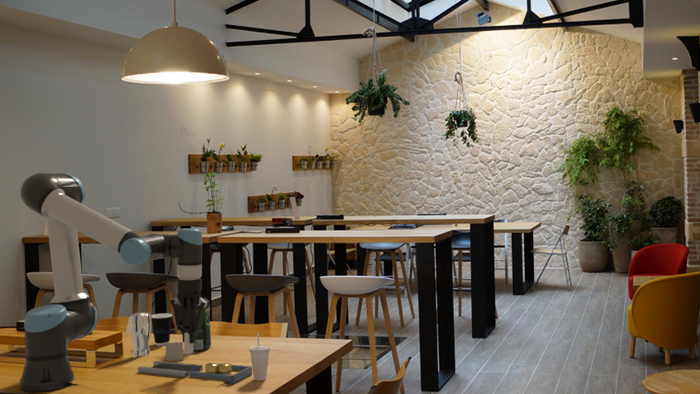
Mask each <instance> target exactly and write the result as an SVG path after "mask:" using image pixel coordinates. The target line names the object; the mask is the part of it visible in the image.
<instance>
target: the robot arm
mask: <svg viewBox="0 0 700 394" xmlns="http://www.w3.org/2000/svg"><path fill="white" fill-rule="evenodd" d="M82 183H83V182H81V180H80V179H78V177H76V176H74V175H72V174H68V173H64V172H62V173H60V172H58V173H50V172H49V173H47V172H46V173H45V172H38V173H35V174H32V175H30V176H28V177H27V178H26V179H25V180H24V181H23V182H22V185H21V187H20V197H21V201H22V202H23V203H24V205H25V206H26V207H27V208H29V209H30V210H32V212H34V213H36V214H39V215H40V216H41V218H42V219H43V220H45V221H46V223H47V231H48V241H49V250H50V251H49V252H50V261H51V269H52V279H53V286H54V287H53V288H54V296H53V297H52V299H51V300H50V304H47V305H43V306H41V305H40V306H37V307H34V308H32V309H30V310H28V311H27V312H26V313H25V317H24V324H23V329H24V349H25V351H24V352H25V353H24V354H25V358H24V359H25V363H24V367H23V371H22V375H21V377H20V380H19V390H21V391H23V392H28V393H29V392H30V393H38V392H39V393H40V392H41V393H43V392H49V391H50V392H51V391H55V390H60V389H64V388H67V387H69V386H72V385H73V382H74V380H75V372H74V371H73V370H72V366H71V363H70V359H69V358H68V344H69V343H72V342H74V341H77V340H81V339H84V338H86V336H88V335H89V334H91V333H92V332H93V331H94V330H95V328H96V326H97V325H98V321H99V313H98V310H97V307H96V306H94V305H93V303H92V302H90V295H89V294H88V293H86V292H85V291H84V284H83V283H84V282H83V275H82V264H81V263H82V262H81V253H80V246H79V245H80V244H79V237H78V236H79V235H78V232H79V233H81V234H83V235H84V236H87V237H89V238H90V239H92V240H94V241H95V242H98V243H100V244H101V245H103V246H105V247H107V248H108V249H111V250H113V251H114V252H116V253H118V254H120V256H121V258H122V259H123V261H124V262H126V263H127V264H131V265H140V264H143V263H147V262H150V261H151V262H152V261H154V260H159V259H176V261H177V262H176V263H177V265H176V277H177V278H178V279H176V280H177V281H176V290H177V294H176V296H175V297H174V298H172V299H170V300H169V301H170V304H171V306H172V309H173V314H174V319H175V325H176V329H177V330H178V331H180V332H182V341H181V342H183V345H184V347H183V351H184V354H183V355H190V354H193V353H194V351H193V343H195V333H196V332H197V331H200V330H201V328H202V323H203V319H204V314H205V310H206V307H207V306H208V304H209V303H210V301H209V302H208V301H204V300H203V299H202V298H203V296H202V289H203V288H202V287H203V279H202V278H201V277H202V275H203V271H202V270H203V262H202V261H203V260H202V259H203V233H202V232H203V231H202V230H201V229H200V228H194V227H193V228H191V227H190V228H186V227H185V228H179V229H178V230H177V233H176V234H164V233H163V234H160V233H159V234H158V233H146V234H145V233H144V234H143V235H140V234H139V233H136V232H135V231H133V230H131V229H129V228H128V227H126V226H124V225H122V224H120V223H118V222H116V221H114V220H112V219H111V218H109V217H107V216H106V215H104V214H102V213H99V212H98V211H97V210H94V209H92V208H91V207H88V206H86V205H85V204H84V203H83V202H84V200H85V195H86V191H85V188H84V185H83V184H82ZM198 304H199V308H198ZM197 308H198V311H197Z"/></svg>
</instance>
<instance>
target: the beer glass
mask: <svg viewBox="0 0 700 394" xmlns="http://www.w3.org/2000/svg"><path fill="white" fill-rule="evenodd" d="M129 326H130V335H131V336H130V337H131V340H132V345H133V351H132V358H133V359H134V358H136V357H137V358H138V357H143V356H147V355H150V354H151V350H150V339H151V333H152V318H151V313H150V312H137V313H132V314H130V325H129Z"/></svg>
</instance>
